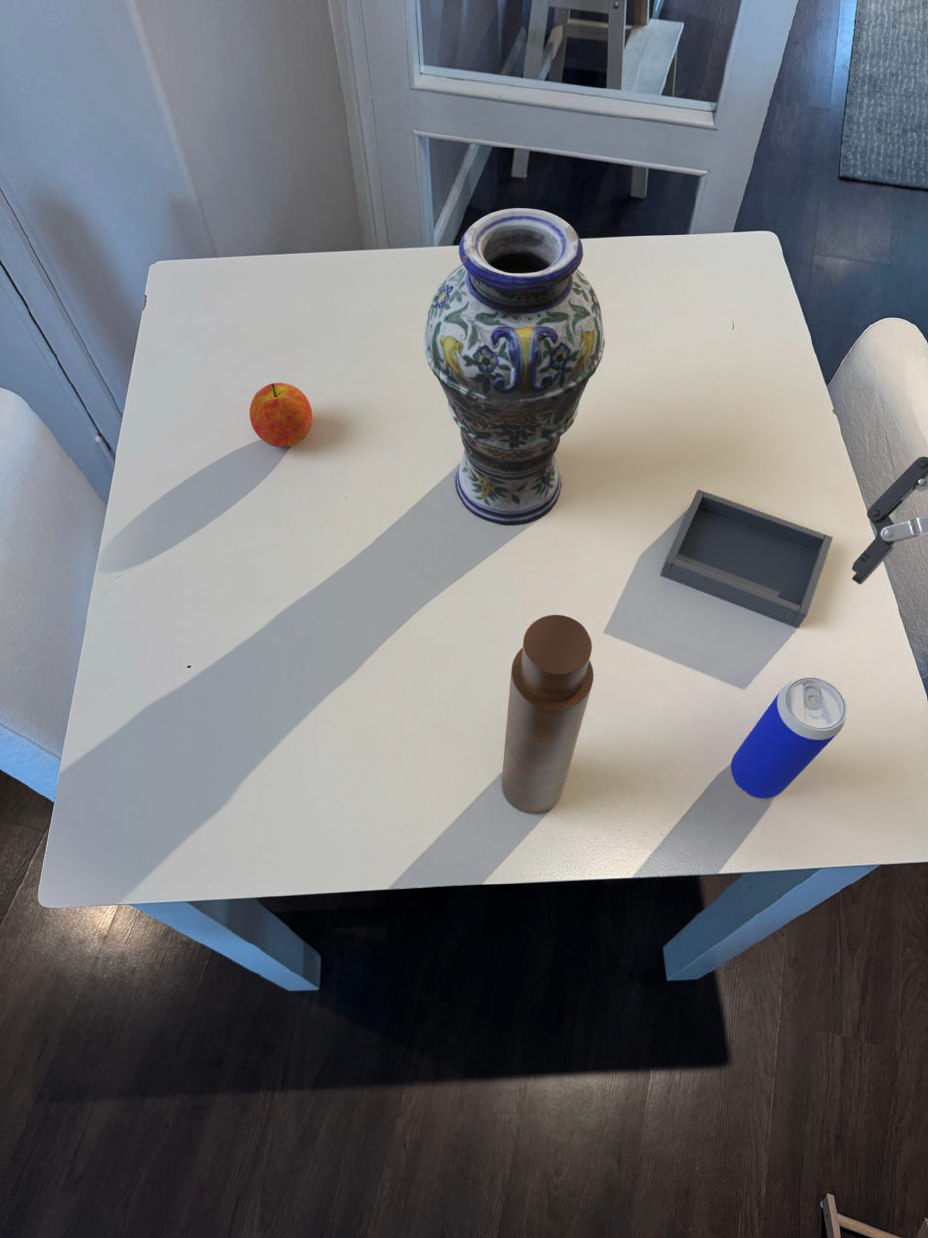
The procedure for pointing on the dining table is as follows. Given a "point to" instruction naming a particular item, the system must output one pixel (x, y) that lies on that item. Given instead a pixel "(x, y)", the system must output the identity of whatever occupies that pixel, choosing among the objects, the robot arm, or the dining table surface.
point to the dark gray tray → (748, 558)
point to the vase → (514, 357)
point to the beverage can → (788, 736)
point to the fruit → (281, 415)
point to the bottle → (545, 711)
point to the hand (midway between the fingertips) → (902, 616)
